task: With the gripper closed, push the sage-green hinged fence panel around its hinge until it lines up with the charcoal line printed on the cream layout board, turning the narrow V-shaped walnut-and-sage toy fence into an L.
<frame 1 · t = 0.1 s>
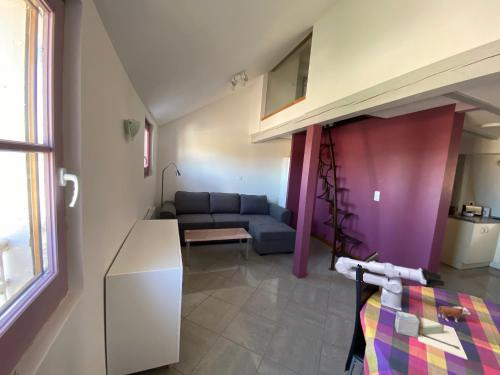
hand: (442, 280, 108), 22 cm above the table, tool horizontal, fingers open, 7 cm apart
medicine box: (405, 332, 100), on the table
hinged fence panel: (430, 329, 99), point 3 cm above the table, hinge at 40.0°
bull figurine: (451, 320, 110), on the table
fixed fence section: (419, 334, 99), resting on layout board
layout board: (436, 334, 99), on the table
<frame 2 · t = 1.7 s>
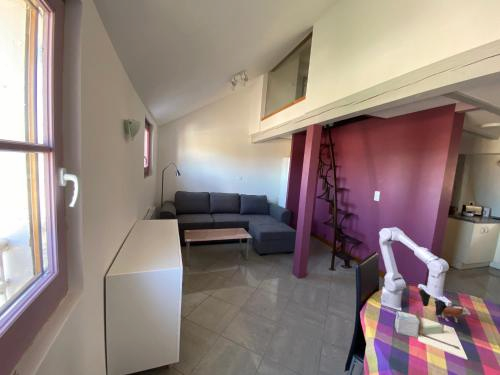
hand: (431, 310, 102), 9 cm above the table, tool pointing down, fingers open, 6 cm apart
nothing on the table moved.
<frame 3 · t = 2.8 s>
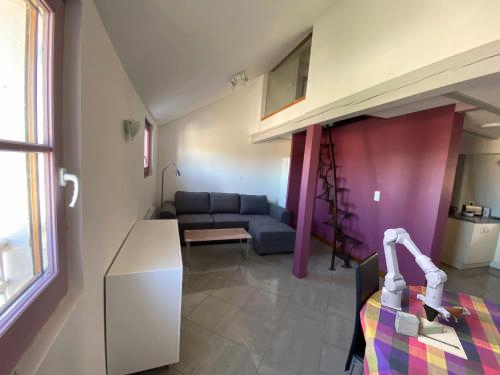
hand: (430, 320, 103), 4 cm above the table, tool pointing down, fingers closed
nothing on the table moved.
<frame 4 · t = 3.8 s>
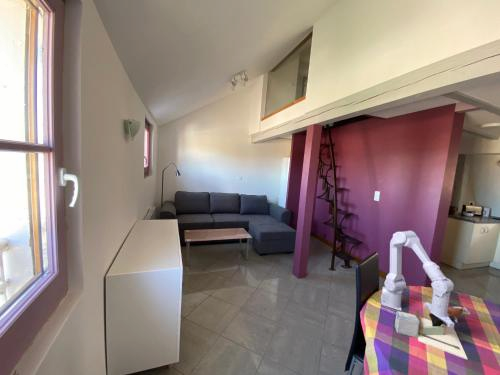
hand: (435, 330, 100), 1 cm above the table, tool pointing down, fingers closed
hinged fence panel: (431, 330, 99), point 3 cm above the table, hinge at 35.1°, touching gripper
everything else where it was.
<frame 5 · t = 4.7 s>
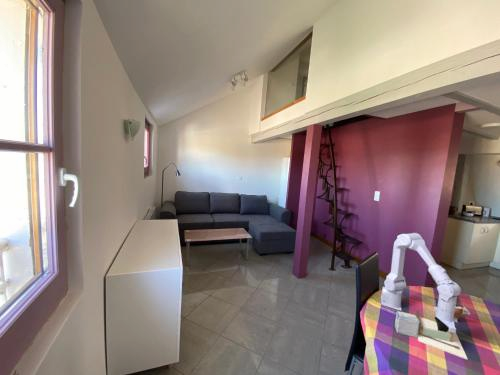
hand: (441, 335, 97), 1 cm above the table, tool pointing down, fingers closed
hinged fence panel: (435, 333, 97), point 3 cm above the table, hinge at 15.1°, touching gripper
everything else where it was.
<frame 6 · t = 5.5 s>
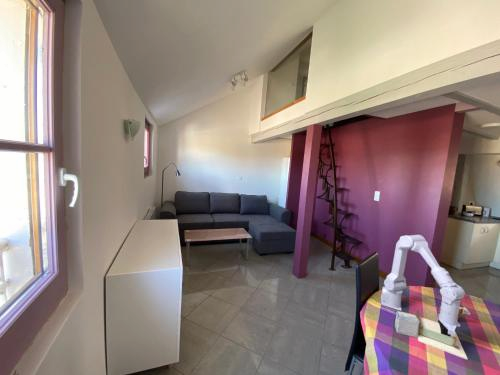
hand: (444, 339, 95), 1 cm above the table, tool pointing down, fingers closed
hinged fence panel: (436, 335, 96), point 3 cm above the table, hinge at 0.3°, touching gripper
everything else where it was.
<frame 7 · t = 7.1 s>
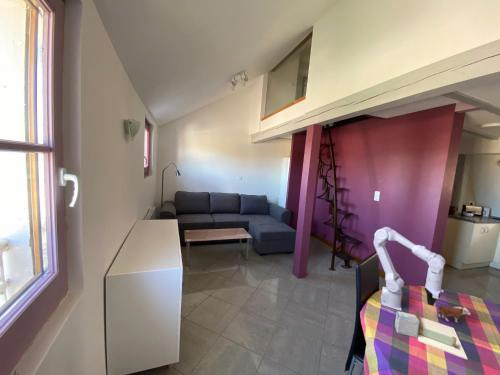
hand: (430, 304, 107), 9 cm above the table, tool pointing down, fingers closed
hinged fence panel: (436, 335, 95), point 3 cm above the table, hinge at 0.1°
everything else where it was.
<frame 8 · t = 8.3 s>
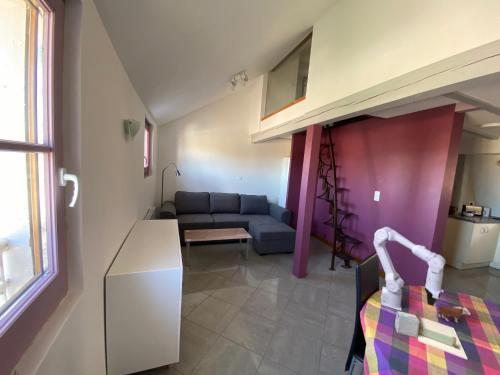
hand: (430, 304, 107), 9 cm above the table, tool pointing down, fingers closed
nothing on the table moved.
at the end: hinged fence panel at +0° (first picture: +40°); medicine box moved 0.3 cm from its start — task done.
